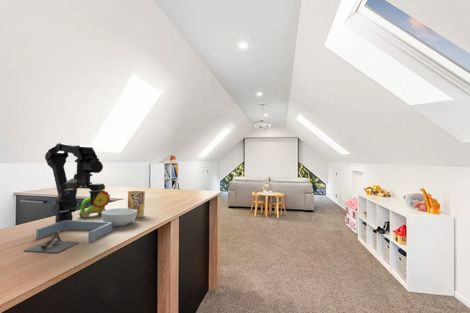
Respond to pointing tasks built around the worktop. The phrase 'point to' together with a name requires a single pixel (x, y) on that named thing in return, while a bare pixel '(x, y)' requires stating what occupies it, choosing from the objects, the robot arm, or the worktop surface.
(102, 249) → the worktop surface
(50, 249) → the mat
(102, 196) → the toy lion
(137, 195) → the candy box
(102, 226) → the open box
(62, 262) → the worktop surface
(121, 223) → the cereal bowl
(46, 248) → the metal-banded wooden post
